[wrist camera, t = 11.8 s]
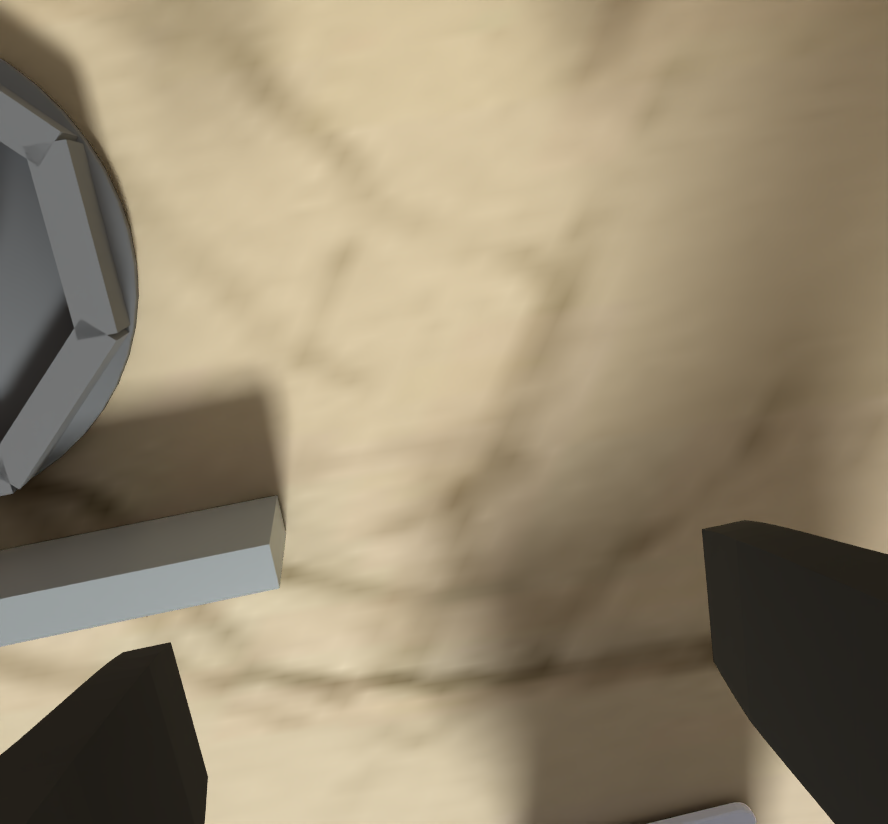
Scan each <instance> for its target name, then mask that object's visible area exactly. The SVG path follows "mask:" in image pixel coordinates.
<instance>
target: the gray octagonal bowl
mask: <svg viewBox="0 0 888 824" xmlns="http://www.w3.org/2000/svg"><path fill="white" fill-rule="evenodd" d="M138 297H139V295H138V275H137V262H136V257H135V252H134V246H133V241H132V235H131V231H130V228H129V225H128V222H127V219H126V216H125V213H124V210H123V207H122V203H121V201H120V199H119V196H118V194H117V192H116V190H115V188H114V186H113V184H112V181H111V179H110V177H109V175H108V173H107V171H106V169H105V167H104V166H103V164H102V163H101V161H100V159H99V158H98V156H97V155H96V153H95V151H94V150H93V148H92V147H91V145H90V143H89V142H88V140H87V139H86V138H85V137H84V135H83V134H82V133H81V132H80V130H79V129H78V128H77V127H76V125H75V124H74V123H73V122H72V120H71V119H70V118H69V117H68V115H67V114H66V113H65V112H64V111H63V110H62V109H61V108H60V107H59V106H58V105H57V104H56V103H55V102H54V101H53V100H52V99H51V98H50V97H49V96H48V95H47V94H46V93H45V92H44V91H43V90H42V89H41V88H40V87H39V86H37V85H36V84H35V83H33V82H32V81H31V80H30V79H28V78H27V77H26V76H24V75H23V74H22V73H21V72H19V71H18V70H17V69H15V68H14V67H13V66H12V65H10V64H9V63H7V62H6V61H4V60H2V59H1V58H0V496H3V495H8V494H13V493H14V492H15V491H16V490H17V489H20V488H22V487H23V486H24V485H25V484H26V483H27V482H28V481H29V480H30V479H31V478H32V477H34V476H36V475H37V474H39V473H40V472H41V471H43V470H44V469H45V468H47V467H48V466H49V465H51V464H52V463H53V462H55V461H56V460H58V459H59V458H60V457H61V456H62V455H63V454H64V453H66V452H67V451H68V450H69V449H70V448H71V447H72V446H73V445H74V444H75V443H76V442H77V441H78V440H79V439H80V438H81V437H82V436H83V435H84V434H85V433H86V432H87V431H88V429H89V428H90V427H91V425H92V424H93V423H94V422H95V420H96V419H97V418H98V416H99V415H100V414H101V412H102V411H103V410H104V408H105V407H106V405H107V403H108V401H109V399H110V398H111V396H112V394H113V392H114V391H115V389H116V387H117V385H118V383H119V381H120V378H121V376H122V373H123V371H124V368H125V365H126V363H127V360H128V358H129V355H130V350H131V346H132V341H133V337H134V333H135V328H136V320H137V308H138Z"/></svg>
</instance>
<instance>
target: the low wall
mask: <svg viewBox="0 0 888 824" xmlns="http://www.w3.org/2000/svg"><path fill="white" fill-rule="evenodd" d="M285 538H286V531H285V527H284V522H283V518H282V514H281V509H280V505H279V500H278V496H277V495H276V496H271V497H266V498H261V499H256V500H251V501H246V502H241V503H236V504H231V505H226V506H221V507H216V508H211V509H206V510H201V511H196V512H190V513H185V514H180V515H175V516H170V517H165V518H160V519H155V520H150V521H145V522H140V523H135V524H130V525H125V526H120V527H115V528H110V529H105V530H100V531H95V532H90V533H85V534H80V535H75V536H70V537H65V538H60V539H55V540H50V541H45V542H40V543H35V544H30V545H24V546H19V547H14V548H9V549H4V550H0V647H1V646H6V645H11V644H15V643H20V642H25V641H30V640H34V639H39V638H44V637H49V636H54V635H58V634H63V633H68V632H73V631H78V630H82V629H87V628H92V627H97V626H101V625H106V624H111V623H116V622H121V621H125V620H130V619H135V618H140V617H144V616H149V615H154V614H159V613H164V612H168V611H173V610H178V609H183V608H188V607H192V606H197V605H202V604H207V603H211V602H216V601H221V600H226V599H231V598H235V597H240V596H245V595H250V594H254V593H259V592H264V591H269V590H274V589H278V588H280V581H281V572H282V564H283V555H284V547H285Z"/></svg>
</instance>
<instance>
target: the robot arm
mask: <svg viewBox="0 0 888 824" xmlns="http://www.w3.org/2000/svg"><path fill="white" fill-rule="evenodd" d="M702 535H703V547H704V558H705V569H706V581H707V592H708V603H709V615H710V626H711V637H712V649H713V660H714V663H715V665H716V666H717V668H718V670H719V671H720V673H721V675H722V676H723V678H724V680H725V681H726V683H727V685H728V687H729V688H730V690H731V692H732V693H733V695H734V696H735V698H736V700H737V701H738V703H739V704H740V706H741V707H742V709H743V711H744V712H745V714H746V715H747V717H748V718H749V720H750V721H751V723H752V724H753V725H754V726H755V728H756V729H757V730H758V731H759V733H760V734H761V735H762V736H763V738H764V739H765V740H766V741H767V743H768V744H769V745H770V746H771V747H772V749H773V750H774V751H775V752H776V754H777V755H778V756H779V757H780V758H781V760H782V761H783V762H784V763H785V765H786V766H787V767H788V768H789V769H790V771H791V772H792V773H793V774H794V775H795V777H796V778H797V779H798V780H799V781H800V783H801V784H802V785H803V786H804V787H805V789H806V790H807V791H808V792H809V793H810V795H811V796H812V797H813V798H814V799H815V800H816V802H817V803H818V804H819V805H820V806H821V808H822V809H823V810H824V811H825V812H826V814H827V815H828V816H829V817H830V818H831V820H832V821H833V822H834V823H835V824H888V554H884V553H880V552H876V551H872V550H869V549H865V548H861V547H857V546H853V545H850V544H846V543H842V542H838V541H835V540H831V539H827V538H823V537H820V536H816V535H812V534H808V533H804V532H801V531H797V530H793V529H789V528H784V527H780V526H776V525H771V524H766V523H761V522H754V521H746V520H744V521H739V522H734V523H730V524H725V525H720V526H716V527H711V528H706V529H702ZM207 782H208V776H207V772H206V768H205V765H204V761H203V757H202V754H201V750H200V747H199V743H198V739H197V736H196V732H195V728H194V725H193V721H192V718H191V714H190V710H189V707H188V703H187V699H186V696H185V692H184V689H183V685H182V681H181V678H180V674H179V670H178V667H177V663H176V660H175V656H174V652H173V649H172V645H171V642H170V643H165V644H160V645H155V646H151V647H146V648H141V649H137V650H132V651H127V652H123V653H121V654H120V655H118V656H117V657H115V658H114V659H112V660H111V661H110V662H109V663H107V664H106V665H105V666H103V667H102V668H101V669H100V670H99V671H97V672H96V673H95V674H94V675H93V676H91V677H90V678H89V679H88V680H87V681H86V682H85V683H83V684H82V685H81V686H80V687H79V688H78V689H76V690H75V691H74V692H73V693H72V694H71V695H70V696H69V697H67V698H66V699H65V700H64V701H63V702H62V703H61V704H59V705H58V706H57V707H56V708H55V709H54V710H53V711H51V712H50V713H49V714H48V715H47V716H46V717H45V718H43V719H42V720H41V721H40V722H39V723H38V724H37V725H35V726H34V727H33V728H32V729H31V730H30V731H29V732H27V733H26V734H25V735H24V736H23V737H22V738H20V739H19V740H18V741H17V742H16V743H15V744H13V745H12V746H11V747H10V748H8V749H7V750H6V751H5V752H4V753H2V754H1V755H0V824H204V823H205V811H206V796H207ZM648 824H757V820H756V817H755V815H754V813H753V812H752V810H751V809H750V808H749V807H748V806H747V805H746V804H744V803H741V802H734V803H729V804H725V805H721V806H717V807H713V808H709V809H705V810H701V811H697V812H693V813H689V814H685V815H680V816H676V817H672V818H668V819H664V820H660V821H656V822H652V823H648Z"/></svg>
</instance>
